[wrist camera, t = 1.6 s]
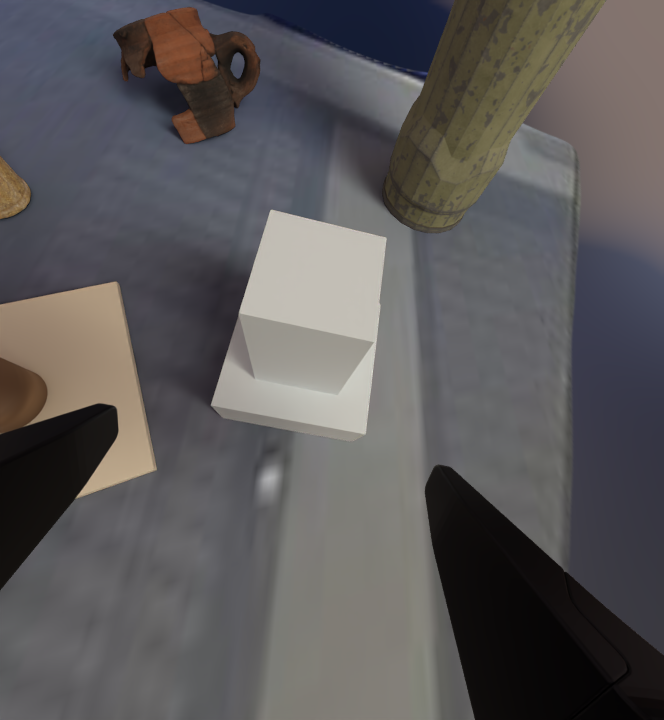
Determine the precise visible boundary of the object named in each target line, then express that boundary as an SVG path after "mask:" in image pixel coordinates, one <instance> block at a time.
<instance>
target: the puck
mask: <svg viewBox="0 0 664 720" xmlns="http://www.w3.org/2000/svg"><path fill="white" fill-rule="evenodd" d="M47 395H48V392H47V386H46V383H45V382H44V380H43V379H42V378H41V377H40V376H39V375H38V374H36V373H34V372H32V371H30V370H28V369H25V368H23V367H21V366H19V365H16V364H14V363H12V362H10V361H7V360H5V359H3V358H1V357H0V433H5V432H8V431H12V430H15V429H18V428H21V427H23V426H25V425H27V424H28V423H30V422H31V421H32V420H33V419H35V418H36V417H37V416H38V414H39V413H40V412H41V411H42V409H43V407H44V405H45V403H46V400H47Z"/></svg>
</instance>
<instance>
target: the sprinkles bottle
mask: <svg viewBox="0 0 664 720" xmlns="http://www.w3.org/2000/svg"><path fill="white" fill-rule="evenodd" d="M30 196H31V192H30V188H29V186H28V185H27V183H26V182H25V181H24V180H23V179H22V178H21V177H19V176H18V175H17V174H16V173H15V172H14V171H13V170H12V169H11V167H10V166H9V165H8V164H7V163H6V162H5V161H4V160H3V159H2V157H1V156H0V219H2V218H7V217H11V216H14V215H16V214H17V213H19V212H20V211H22V210H23V209H25V208H26V206H27V204H28V203H29V202H30Z"/></svg>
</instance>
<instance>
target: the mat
mask: <svg viewBox="0 0 664 720" xmlns="http://www.w3.org/2000/svg"><path fill="white" fill-rule="evenodd" d="M0 357H1V358H3V359H5V360H7V361H10V362H12V363H14V364H16V365H19V366H21V367H23V368H25V369H28V370H30V371H32V372H34V373H36V374H38V375H39V376H40V377H41V378H42V379H43V380H44V382H45V383H46V386H47V392H48V395H47V400H46V403H45V405H44V407H43V409H42V411H41V412H40V413H39V414H38V416H37V417H36V418H35V419H33V420H32V421H31V422H30V423H28V424H27V425H31V424H34V423H37V422H40V421H43V420H46V419H50V418H53V417H56V416H59V415H62V414H65V413H69V412H72V411H75V410H78V409H81V408H84V407H88V406H91V405H94V404H97V403H103V404H108V405H113V406H115V407H116V408H117V412H118V428H119V432H118V436H117V438H116V440H115V442H114V443H113V445H112V446H111V448H110V449H109V451H108V452H107V454H106V455H105V457H104V458H103V460H102V461H101V463H100V464H99V466H98V467H97V469H96V470H95V472H94V473H93V475H92V476H91V478H90V479H89V481H88V482H87V484H86V485H85V486H84V488H83V489H82V491H81V492H80V493H79V494H78V496H77V497H76V498H75V499H77V498H80V497H82V496H85V495H88V494H91V493H94V492H96V491H99V490H102V489H105V488H108V487H111V486H113V485H116V484H119V483H122V482H125V481H128V480H130V479H133V478H136V477H139V476H142V475H144V474H147V473H150V472H153V471H156V470H157V467H156V462H155V457H154V452H153V447H152V442H151V437H150V432H149V428H148V423H147V418H146V413H145V408H144V403H143V398H142V393H141V388H140V383H139V378H138V373H137V368H136V364H135V359H134V354H133V349H132V344H131V339H130V334H129V329H128V324H127V319H126V314H125V309H124V304H123V300H122V295H121V290H120V285H119V284H118V283H117V282H111V283H106V284H101V285H96V286H91V287H86V288H81V289H76V290H71V291H66V292H61V293H56V294H51V295H46V296H41V297H36V298H31V299H26V300H21V301H16V302H11V303H6V304H1V305H0ZM27 425H25V426H27ZM23 427H24V426H23ZM0 434H2V433H0Z"/></svg>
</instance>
